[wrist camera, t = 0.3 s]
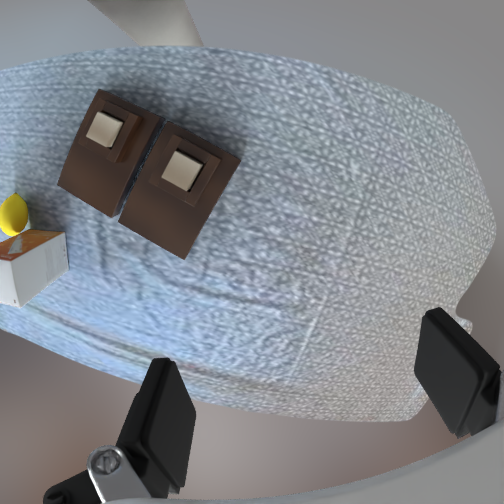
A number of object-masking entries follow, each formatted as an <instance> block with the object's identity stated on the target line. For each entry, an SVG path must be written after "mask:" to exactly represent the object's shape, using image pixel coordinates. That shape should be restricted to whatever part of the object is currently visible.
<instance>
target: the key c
mask: <svg viewBox="0 0 504 504" xmlns="http://www.w3.org/2000/svg"><path fill="white" fill-rule="evenodd" d="M122 125H123V122H121V121H119V120H117V119H115V118H113V117H111V116H109V115H107V114H105V113H101V112H97V114H96V116H95V118H94V120H93V122H92V125H91V127H90V129H89V131H88V133H87V135H86V136H87V137H88V138H90V139H92V140H94V141H96V142H98V143H100V144H101V145H103V146H105V147H112V145H113V143H114V141H115V139H116V137H117V135H118V133H119V131H120V129H121V127H122Z"/></svg>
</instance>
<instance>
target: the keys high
mask: <svg viewBox="0 0 504 504" xmlns="http://www.w3.org/2000/svg"><path fill="white" fill-rule="evenodd" d="M175 151H180V152H181V153H183V154H185V155H187V156H189V157H191V158H192V159H194V160H196V161H198V162H200V163H202V164H203V166H202V168H201V169H200V171H199V173H198V175H197V176H196V178H195V180H194V182H193V184H192V185H191V187H190V189H189V190H187V191H185V190H184V189H182V188H180V187H178V186H177V185H175V184H173V183H171V182H169V181H167V180H166V179H164V178H162V175H163V173H164V171H165V169H166V167H167V165H168V164H169V162H170V160H171V158H172V156H173V154H174V152H175ZM240 162H241V160H240V159H238V158H237V157H235V156H233V155H231V154H230V153H228V152H226V151H224V150H223V149H221V148H219V147H217V146H215V145H213V144H212V143H210V142H208V141H206V140H204V139H202V138H201V137H199V136H197V135H195V134H193V133H191V132H189V131H187V130H185V129H183V128H182V127H180V126H178V125H176V124H174V123H172V122H169V121H167V123H166V124H165V126H164V128H163V130H162V132H161V133H160V135H159V137H158V139H157V141H156V143H155V144H154V146H153V148H152V150H151V152H150V154H149V156H148V158H147V160H146V162H145V164H144V166H143V168H142V170H141V172H140V174H139V176H138V178H137V180H136V182H135V184H134V186H133V189H132V191H131V193H130V195H129V197H128V200H127V202H126V204H125V206H124V209H123V211H122V213H121V216H120V218H119V220H118V222H119V223H120V224H122V225H124V226H125V227H127V228H129V229H131V230H132V231H134V232H136V233H137V234H139V235H141V236H143V237H144V238H146V239H148V240H150V241H151V242H153V243H155V244H157V245H158V246H160V247H162V248H164V249H165V250H167V251H169V252H171V253H172V254H174V255H176V256H178V257H180V258H181V259H183V260H185V258H186V257H187V255H188V253H189V251H190V249H191V248H192V246H193V244H194V242H195V240H196V239H197V237H198V235H199V233H200V231H201V229H202V228H203V226H204V224H205V222H206V221H207V219H208V217H209V215H210V213H211V212H212V210H213V208H214V206H215V205H216V203H217V201H218V199H219V198H220V196H221V194H222V193H223V191H224V189H225V187H226V186H227V184H228V182H229V181H230V179H231V177H232V176H233V174H234V172H235V171H236V169H237V167H238V166H239V164H240Z"/></svg>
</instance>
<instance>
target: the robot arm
mask: <svg viewBox="0 0 504 504" xmlns="http://www.w3.org/2000/svg"><path fill="white" fill-rule="evenodd" d="M499 368H500V366H499V364H498V363H497V362H496V361H494V359H493V358H492V357H491V356H490V355H489V354H488V353H487V352H486V351H485V350H484V349H483V348H482V347H481V346H480V345H479V344H478V343H477V342H476V341H475V340H474V339H473V338H472V337H471V336H470V335H469V334H468V333H467V332H466V331H465V330H464V329H463V328H462V327H461V326H460V325H459V324H458V323H457V322H456V321H455V320H454V319H453V318H452V317H451V316H450V315H449V314H447V313H446V312H445V311H444V310H443V309H442V308H441V307H438V308H435V309H431V310H428V311H426V313H425V315H424V316H423V317H422V323H421V330H420V337H419V344H418V350H417V355H416V361H415V366H414V373H415V376H416V378H417V379H418V381H419V382H420V384H421V385H422V387H423V388H424V390H425V392H426V393H427V395H428V396H429V398H430V399H431V401H432V403H433V404H434V406H435V407H436V409H437V411H438V412H439V414H440V416H441V417H442V419H443V421H444V422H445V424H446V426H447V427H448V429H449V431H450V432H451V433H455V435H456V436H457V438H458V439H459V438H460V437H463V436H464V435H466V434H468V433H469V432H470V434H471V437H469V438H467V439H465V440H463V441H461V442H459V443H457V444H455V445H453V446H451V447H449V448H447V449H445V450H443V451H440V452H438V453H436V454H434V455H432V456H429V457H427V458H424V459H422V460H420V461H417V462H414V463H412V464H409V465H407V466H404V467H401V468H398V469H395V470H392V471H389V472H386V473H383V474H380V475H377V476H374V477H370V478H367V479H363V480H359V481H356V482H352V483H348V484H344V485H340V486H335V487H331V488H326V489H321V490H316V491H310V492H304V493H298V494H291V495H283V496H275V497H265V498H253V499H234V500H187V499H167V497H168V494H179V491H180V487H184V485H185V480H186V474H187V467H188V461H189V455H190V449H191V443H192V437H193V432H194V426H195V420H196V411H195V408H194V405H193V403H192V401H191V399H190V396H189V394H188V392H187V389H186V387H185V385H184V382H183V380H182V378H181V375H180V373H179V370H178V368H177V366H176V363H175V362H174V361H171V360H170V359H169V358H154V359H153V360H152V362H151V364H150V366H149V369H148V371H147V374H146V376H145V378H144V381H143V383H142V386H141V388H140V391H139V392H138V393H137V394H136V396H135V398H134V400H133V403H132V405H131V407H130V410H129V413H128V415H127V417H126V420H125V423H124V425H123V427H122V430H121V433H120V435H119V438H118V441H117V443H116V446H112V445H104V446H101V447H99V448H97V449H95V450H94V451H93V452H92V453H91V454H90V455H89V457H88V459H87V470H85V471H83V472H81V473H79V474H77V475H75V476H73V477H71V478H69V479H67V480H65V481H63V482H61V483H59V484H57V485H54V486H52V487H51V488H49V489H48V490H47V491H46V493H45V495H44V498H43V504H504V370H503V372H501V371H500V370H499Z"/></svg>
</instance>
